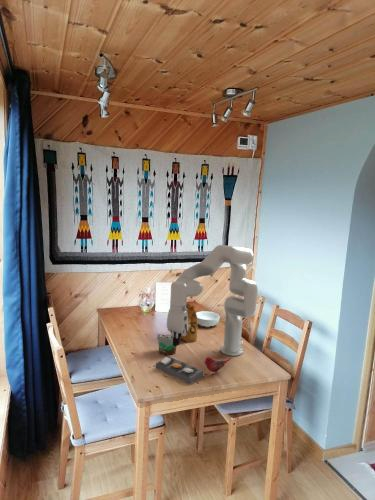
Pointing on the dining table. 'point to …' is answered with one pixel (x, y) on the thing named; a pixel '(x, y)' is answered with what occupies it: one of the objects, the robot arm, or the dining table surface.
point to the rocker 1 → (165, 361)
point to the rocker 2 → (188, 370)
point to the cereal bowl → (207, 318)
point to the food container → (166, 345)
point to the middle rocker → (176, 365)
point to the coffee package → (191, 324)
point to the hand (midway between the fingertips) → (176, 345)
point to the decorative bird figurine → (214, 364)
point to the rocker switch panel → (180, 371)
